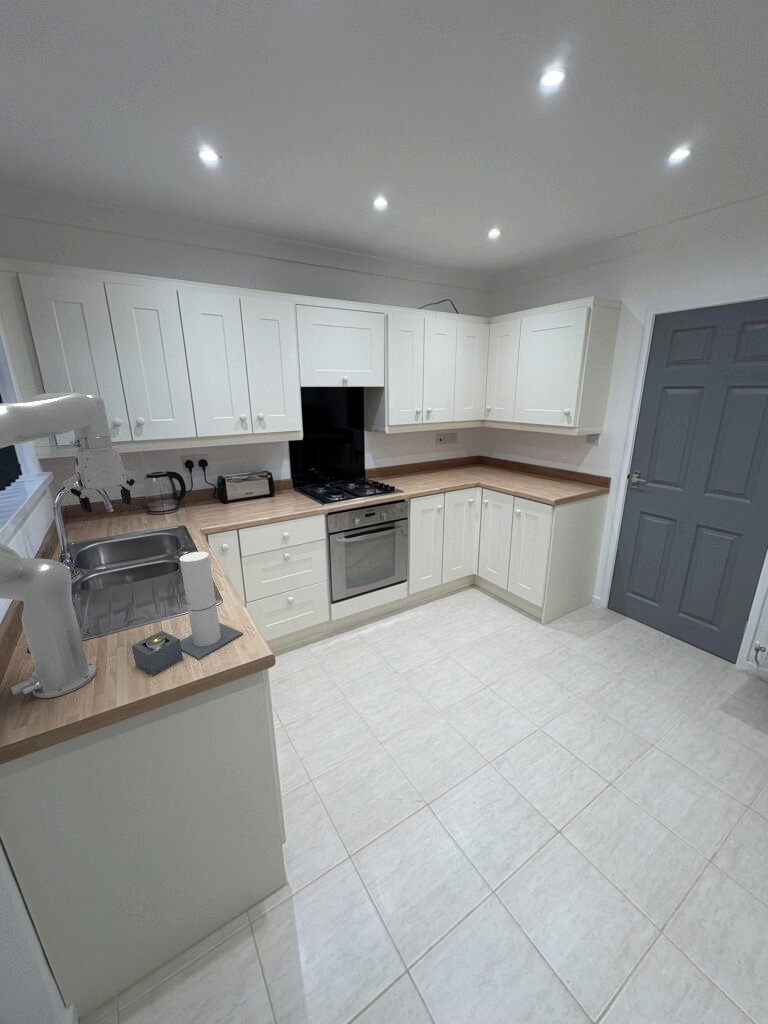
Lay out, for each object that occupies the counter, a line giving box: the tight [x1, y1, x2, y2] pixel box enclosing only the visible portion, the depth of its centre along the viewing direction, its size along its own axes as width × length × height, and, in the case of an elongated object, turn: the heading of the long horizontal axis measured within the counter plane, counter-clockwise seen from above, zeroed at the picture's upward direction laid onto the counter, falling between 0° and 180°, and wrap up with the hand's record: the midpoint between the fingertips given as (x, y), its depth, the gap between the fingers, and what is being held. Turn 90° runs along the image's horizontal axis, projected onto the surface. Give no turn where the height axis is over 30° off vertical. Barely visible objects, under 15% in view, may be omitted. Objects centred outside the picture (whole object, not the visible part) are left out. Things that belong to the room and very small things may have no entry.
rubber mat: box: [180, 622, 244, 661], centre depth 114 cm, size 14×12×1 cm
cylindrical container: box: [179, 551, 221, 646], centre depth 111 cm, size 7×7×25 cm
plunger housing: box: [131, 630, 184, 677], centre depth 104 cm, size 8×8×6 cm
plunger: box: [145, 633, 166, 650], centre depth 104 cm, size 4×4×6 cm
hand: (108, 507), depth 109 cm, fingers open, 9 cm apart
